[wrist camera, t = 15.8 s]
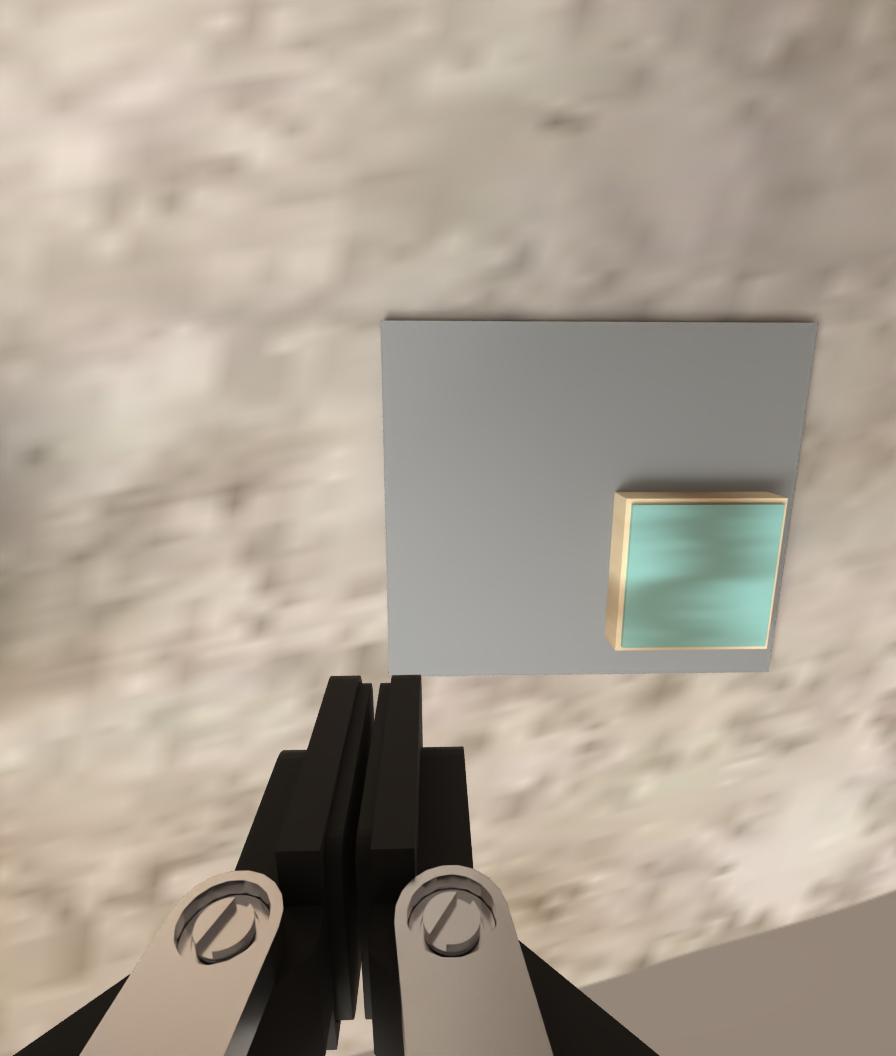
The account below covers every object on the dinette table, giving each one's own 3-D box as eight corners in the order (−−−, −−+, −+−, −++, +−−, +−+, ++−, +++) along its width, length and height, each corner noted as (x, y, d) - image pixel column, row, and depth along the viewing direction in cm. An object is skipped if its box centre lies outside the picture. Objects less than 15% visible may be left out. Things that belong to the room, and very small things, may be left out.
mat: (382, 322, 22) (380, 320, 21) (807, 324, 22) (818, 322, 21) (390, 670, 25) (389, 676, 24) (760, 665, 25) (768, 671, 25)
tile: (616, 652, 23) (628, 499, 21) (604, 635, 24) (614, 491, 23) (769, 650, 23) (791, 499, 21) (747, 634, 24) (766, 491, 23)
